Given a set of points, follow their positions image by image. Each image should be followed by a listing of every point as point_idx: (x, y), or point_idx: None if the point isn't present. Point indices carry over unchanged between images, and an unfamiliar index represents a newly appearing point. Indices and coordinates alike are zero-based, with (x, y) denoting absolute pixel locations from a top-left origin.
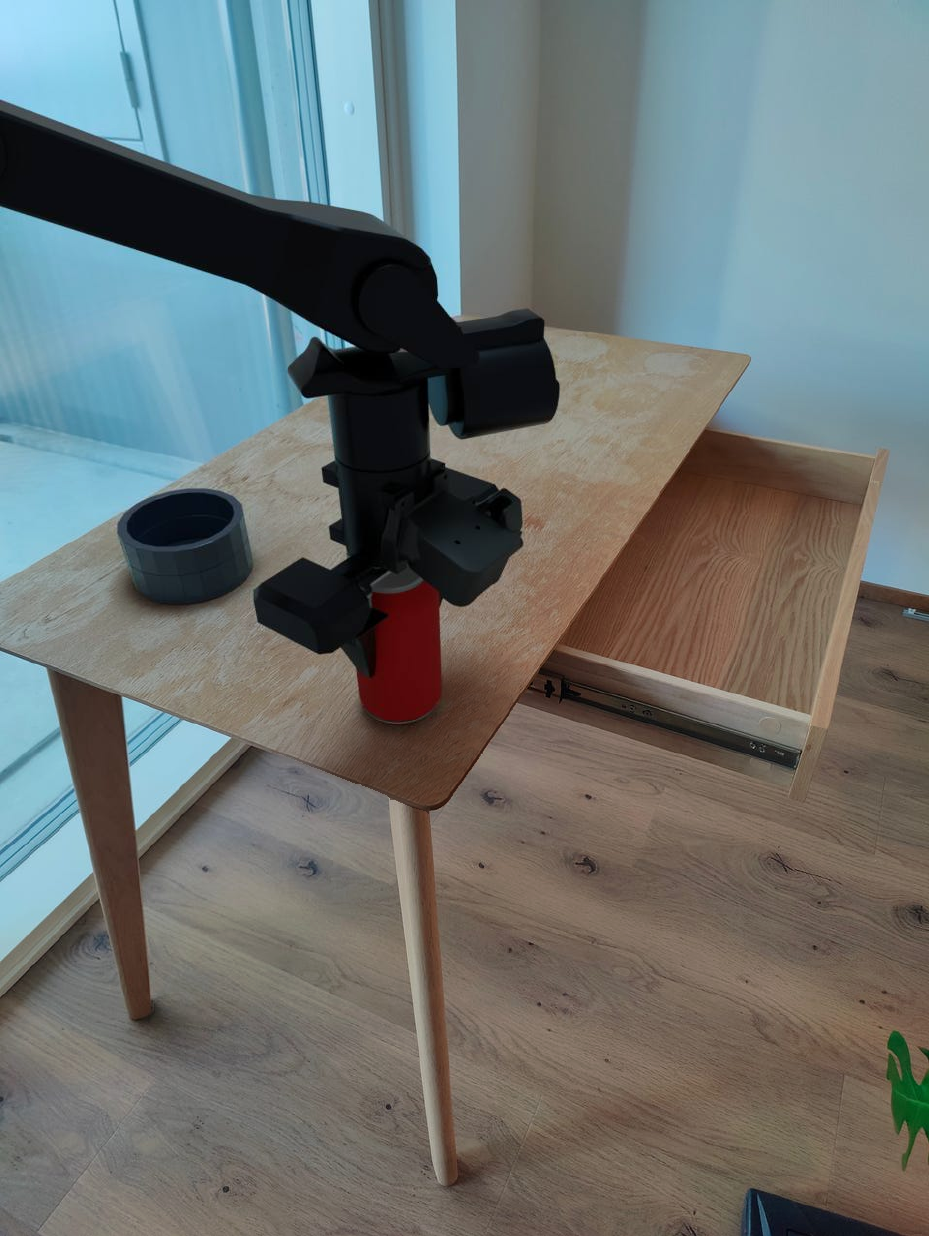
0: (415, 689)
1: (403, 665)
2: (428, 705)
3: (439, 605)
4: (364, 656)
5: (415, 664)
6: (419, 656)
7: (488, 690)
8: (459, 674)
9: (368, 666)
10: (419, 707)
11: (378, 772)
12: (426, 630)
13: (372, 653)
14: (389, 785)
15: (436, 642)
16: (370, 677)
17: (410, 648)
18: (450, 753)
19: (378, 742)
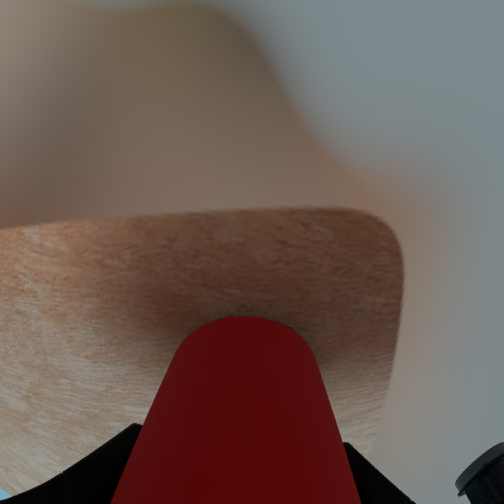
0: (297, 366)
1: (329, 430)
2: (266, 325)
3: (98, 454)
4: (402, 493)
5: (306, 414)
6: (296, 426)
7: (140, 256)
8: (137, 318)
9: (375, 468)
10: (285, 335)
11: (388, 313)
12: (270, 490)
13: (377, 491)
14: (403, 285)
15: (213, 420)
16: (349, 443)
17: (324, 463)
18: (310, 238)
19: (338, 347)
